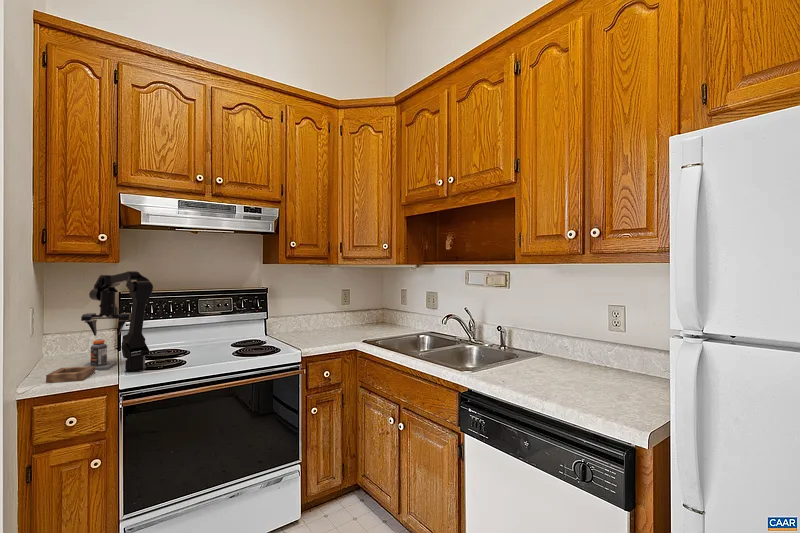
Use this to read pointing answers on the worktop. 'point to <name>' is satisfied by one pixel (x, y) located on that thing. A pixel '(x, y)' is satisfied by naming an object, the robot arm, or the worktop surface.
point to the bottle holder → (70, 374)
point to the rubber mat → (104, 367)
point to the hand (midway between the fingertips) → (107, 335)
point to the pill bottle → (98, 353)
